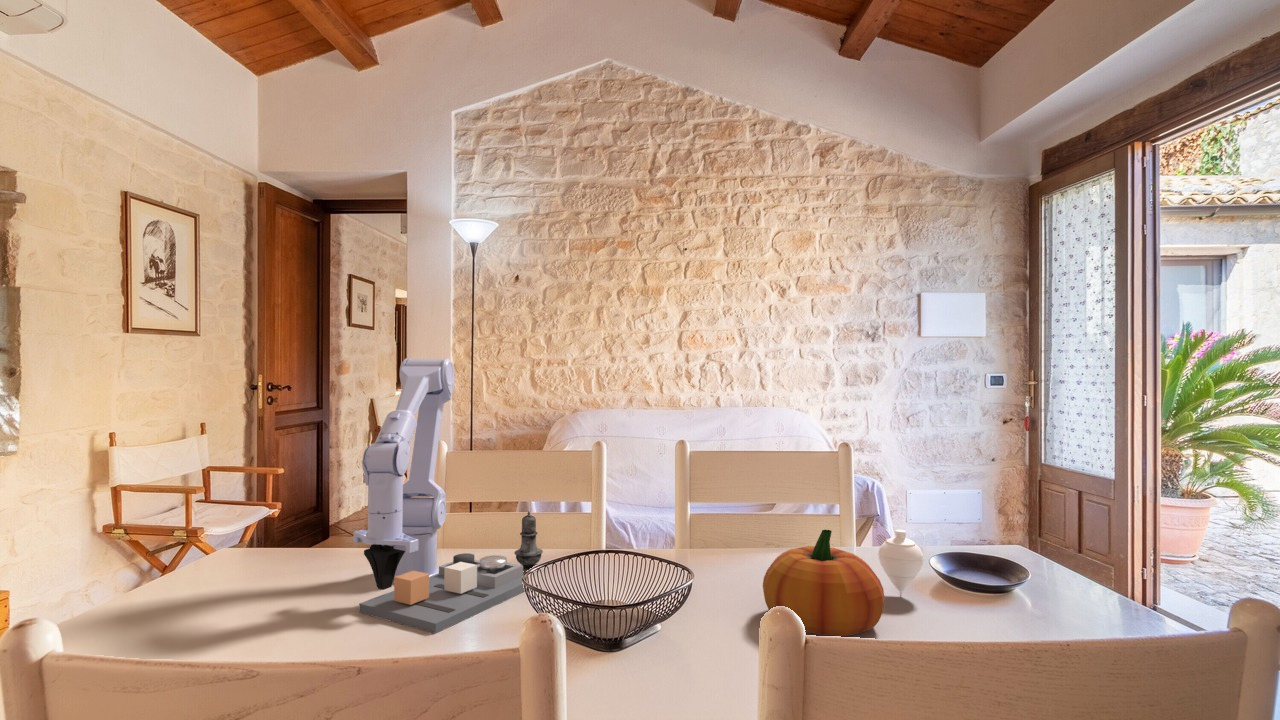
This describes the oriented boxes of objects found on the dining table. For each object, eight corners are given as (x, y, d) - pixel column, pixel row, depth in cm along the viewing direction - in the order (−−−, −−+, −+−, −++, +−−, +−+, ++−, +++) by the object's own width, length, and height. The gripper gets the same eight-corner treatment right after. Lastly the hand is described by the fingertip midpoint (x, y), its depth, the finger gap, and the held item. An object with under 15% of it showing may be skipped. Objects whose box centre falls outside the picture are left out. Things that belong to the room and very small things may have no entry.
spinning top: (924, 592, 118) (923, 528, 118) (923, 606, 111) (923, 537, 111) (880, 586, 121) (879, 523, 121) (877, 599, 114) (876, 532, 114)
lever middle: (444, 590, 113) (444, 567, 113) (460, 583, 116) (460, 561, 117) (460, 593, 111) (461, 570, 111) (476, 587, 115) (477, 564, 115)
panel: (359, 612, 107) (359, 591, 107) (468, 570, 130) (468, 553, 130) (435, 633, 99) (436, 610, 99) (538, 584, 122) (538, 566, 122)
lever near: (394, 600, 108) (394, 577, 108) (412, 593, 111) (412, 570, 111) (410, 604, 106) (410, 580, 106) (429, 597, 109) (429, 574, 109)
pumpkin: (739, 613, 107) (738, 525, 108) (821, 594, 117) (820, 513, 117) (823, 658, 91) (822, 552, 91) (911, 631, 100) (910, 536, 100)
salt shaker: (536, 574, 128) (537, 514, 128) (509, 572, 129) (510, 513, 130) (546, 565, 134) (547, 508, 134) (520, 563, 135) (521, 507, 135)
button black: (448, 564, 123) (448, 557, 123) (463, 559, 127) (463, 552, 127) (464, 567, 121) (464, 560, 121) (478, 562, 125) (478, 555, 125)
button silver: (474, 568, 120) (474, 560, 120) (492, 561, 124) (492, 554, 124) (494, 572, 117) (494, 564, 117) (511, 565, 122) (512, 557, 122)
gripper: (338, 510, 112) (337, 587, 112) (395, 519, 105) (394, 602, 105) (372, 503, 118) (371, 576, 118) (428, 511, 111) (427, 589, 111)
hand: (384, 587), depth 112 cm, fingers closed
